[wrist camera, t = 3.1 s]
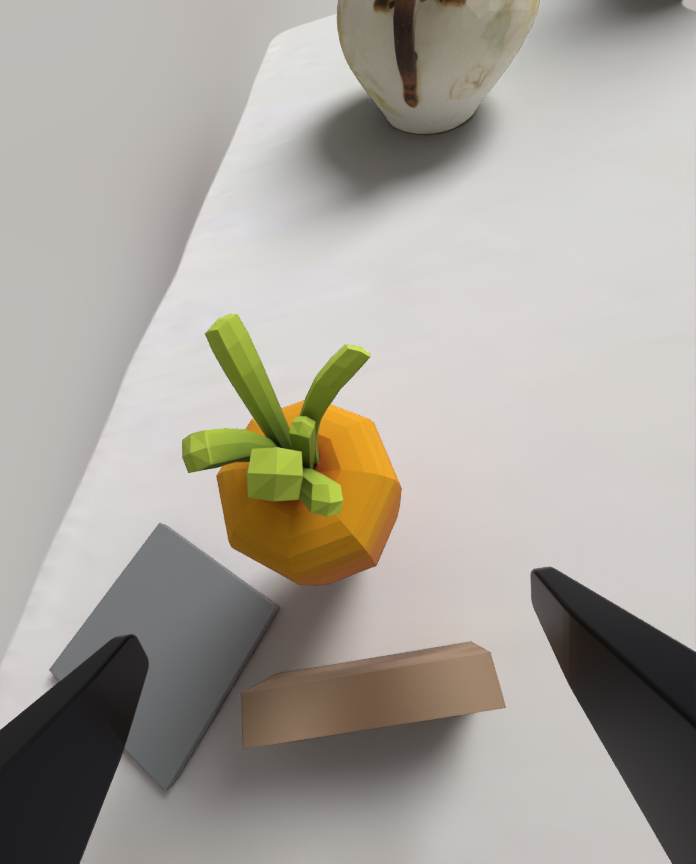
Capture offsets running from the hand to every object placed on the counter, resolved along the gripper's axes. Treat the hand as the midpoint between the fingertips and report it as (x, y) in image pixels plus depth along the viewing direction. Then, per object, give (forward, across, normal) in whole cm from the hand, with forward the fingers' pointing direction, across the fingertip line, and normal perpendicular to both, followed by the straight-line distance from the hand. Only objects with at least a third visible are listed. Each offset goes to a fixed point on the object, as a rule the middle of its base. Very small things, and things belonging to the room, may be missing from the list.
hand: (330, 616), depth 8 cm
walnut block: (+5, 0, +9) cm, 11 cm away
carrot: (+10, 0, +5) cm, 11 cm away
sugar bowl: (+36, -12, -21) cm, 43 cm away
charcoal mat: (+7, +10, +7) cm, 14 cm away
